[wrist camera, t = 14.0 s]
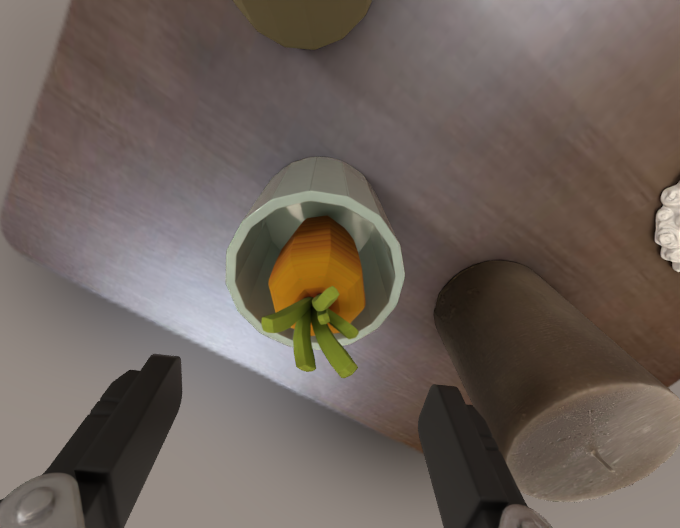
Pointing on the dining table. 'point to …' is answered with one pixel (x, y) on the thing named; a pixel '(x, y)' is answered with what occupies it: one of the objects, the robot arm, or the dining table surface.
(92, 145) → the dining table surface
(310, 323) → the carrot
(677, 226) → the cherub figurine
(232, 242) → the tumbler
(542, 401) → the pillar candle
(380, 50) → the dining table surface
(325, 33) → the squeeze bottle
